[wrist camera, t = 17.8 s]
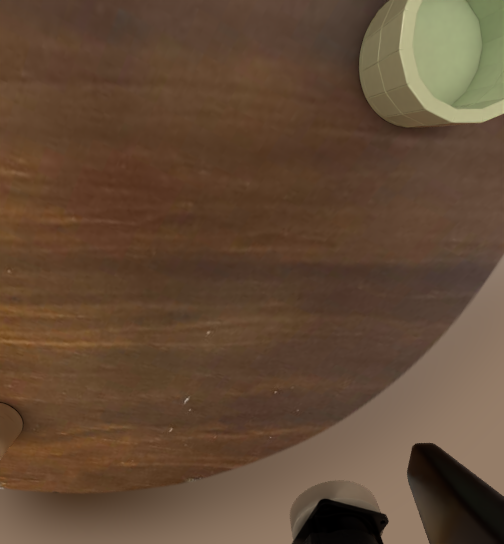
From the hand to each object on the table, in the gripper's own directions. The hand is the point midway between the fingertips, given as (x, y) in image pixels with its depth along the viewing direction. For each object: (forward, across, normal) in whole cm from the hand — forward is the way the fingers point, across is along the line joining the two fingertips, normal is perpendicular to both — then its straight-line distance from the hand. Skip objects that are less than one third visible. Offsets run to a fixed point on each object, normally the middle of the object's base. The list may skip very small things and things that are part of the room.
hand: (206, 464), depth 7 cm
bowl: (+13, -10, -10) cm, 19 cm away
